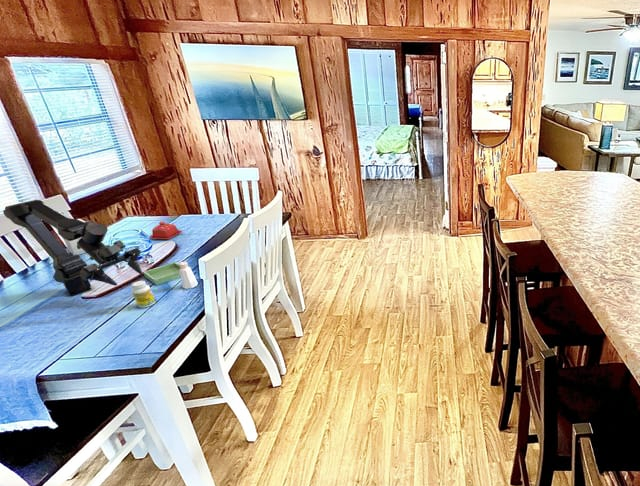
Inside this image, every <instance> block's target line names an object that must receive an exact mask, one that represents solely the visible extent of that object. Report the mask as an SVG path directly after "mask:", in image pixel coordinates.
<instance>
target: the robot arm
mask: <svg viewBox="0 0 640 486" xmlns="http://www.w3.org/2000/svg"><path fill="white" fill-rule="evenodd" d="M2 213H3V215H4V216H5V217H6V218H7V219H9V220H10V221H11V222H12V223H13V224H15V225H17V226H19V227H22V228H25V230H27V231H28V233H29V234H30V235H31V237H33V239H34V240H35V241H36V242H37V243H38V244H39V246H40V247H41V248H42V249H43V250H44V251H45V252H46V253H47V254H48V256H50V258H51V259H52V268H53V269H54V273H53V276H52V278H53V279H54V281H55V282H56V283H59V284H60V283H61V284H63V287H64V288H65V292H66V293H67V294H68V295H69V296H70V297H73V296H76V295H79V294H82V293H84V292H88V291H91V290H92V288H91V287H92V285H91V283H90V281H97V282H101V283H105V284H108V285H111V286H115V287H117V286H118V283H117V281H115V280H114V279H113V278H111V276H109V275H108V274H107V273H105V269H107V268H110V267H112V266H114V265H117V264H119V263H123V262H124V263H127V264H126V265H127V266H128V267H129V268H130V269H132V270H134V272H136V273H137V274H139V275H143V271H142V269H141V266H140V264H139V261H138V259H139V257H140V255H141V252H142V251H141V250H140V249H139V248H137V247H133V248H130V249H127V250H124V249H126V247H127V246H126V245H125V242H122V241H121V239H120V240H117V241H114V242H113V243H112V245H108V244H106V245H105V244H104V243H103V241H104V240H105V238H106V235H107V233H108V227H107V226H106V225H105V224H103V223H101V222H94V221H93V220H87V221H85V223H84V222H82V221H80V220H77V219H78V218H69V217H66V216H65V215H64V214H62V213H60V212H59V211H57V210H55V209H53V208H52V207H50V206H48V205H46V204H45V203H44V201H42V200H41V199H33V200H28V201H23V202H19V203H15V204H11V205H7V206H4V210H3V211H2ZM43 222H45V223H46V224H48V225H50V226H51V227H53V228H54V229H56V230H57V234H58V235H59V236H60V237H61V238H62V239H63V238H64V239H66V240H68V241H72V240H75V239H78V238H81V237H82V238H81V239H79V241H78V242H77V248H78V249H83V250H84V251H85V252H86V253H85V254H87V255H88V256H89V260H91V261H95V262H96V263H91V264H88V263H86V262H85V261H84V260H83V259H82V258H81V257H80V254H79V255H77V254H75V255H74V254H72V253H71V252H69V251H67V250H66V248H65V247H64V246H63V245H62V244H61V242H60V241H59V240H58V239H57V238H56V236H55V235H54V234H53V233H52V232H51V231H50V229H48V227H47V226H46V225H45V224H44V223H43ZM64 239H63V240H64ZM121 252H124V253H123V254H122V255H120V254H121Z"/></svg>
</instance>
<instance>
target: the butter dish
mask: <svg viewBox="0 0 640 486" xmlns="http://www.w3.org/2000/svg"><path fill="white" fill-rule="evenodd" d="M151 233H152V234H151V236H149V237H150V238H151V239H153V240H169V239H172V238H174V237H175V236H177V235H179V234H181V233H183V230H179V229H178V227H177V226H176V225H175V224H173V223H166V222H165V221H160V222H158V224H157V225H156V226H155V227H153V228H152V230H151ZM150 238H149V239H150Z"/></svg>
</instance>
